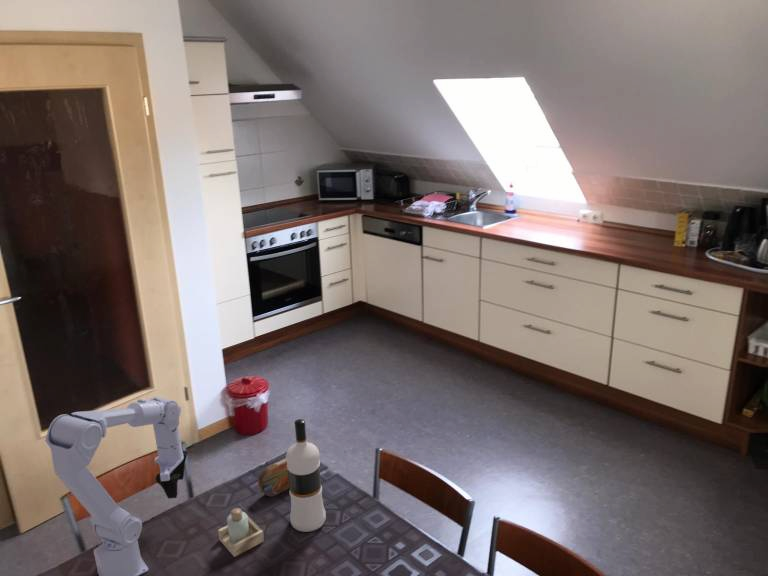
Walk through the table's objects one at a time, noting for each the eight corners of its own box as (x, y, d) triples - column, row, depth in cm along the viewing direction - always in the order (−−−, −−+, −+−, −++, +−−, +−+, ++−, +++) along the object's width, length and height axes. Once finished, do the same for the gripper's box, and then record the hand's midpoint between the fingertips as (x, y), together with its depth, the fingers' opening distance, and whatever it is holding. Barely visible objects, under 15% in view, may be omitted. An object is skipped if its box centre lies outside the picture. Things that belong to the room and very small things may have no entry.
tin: (263, 501, 171) (260, 475, 168) (258, 496, 173) (255, 470, 170) (309, 479, 180) (307, 453, 177) (303, 474, 182) (301, 449, 179)
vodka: (283, 522, 162) (273, 422, 152) (310, 505, 168) (302, 407, 159) (306, 539, 156) (297, 435, 146) (333, 520, 162) (326, 419, 153)
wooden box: (234, 557, 151) (233, 547, 150) (219, 539, 157) (218, 529, 156) (264, 541, 156) (263, 531, 155) (248, 524, 162) (247, 515, 161)
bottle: (238, 547, 152) (234, 521, 150) (225, 539, 155) (221, 512, 153) (254, 536, 156) (250, 510, 153) (241, 528, 159) (238, 502, 156)
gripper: (159, 428, 163) (166, 472, 167) (144, 460, 149) (152, 507, 153) (186, 426, 163) (193, 470, 168) (174, 457, 150) (181, 504, 154)
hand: (175, 488), depth 161 cm, fingers open, 7 cm apart
